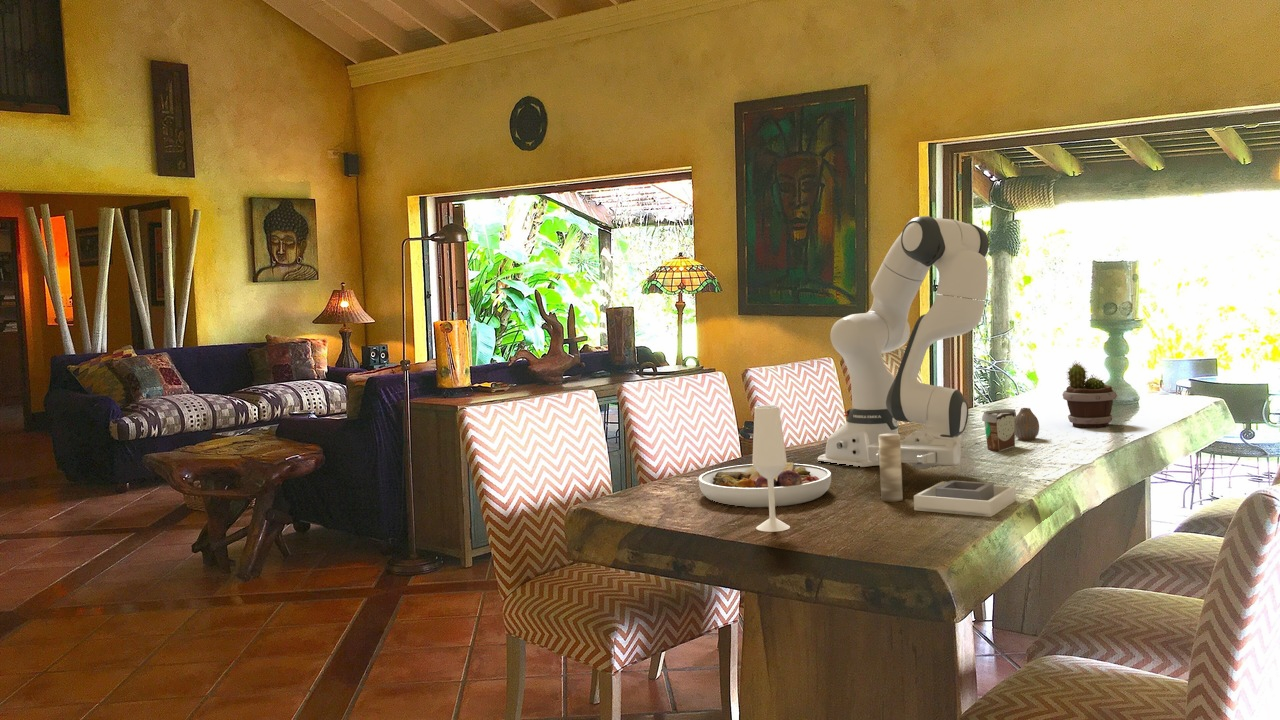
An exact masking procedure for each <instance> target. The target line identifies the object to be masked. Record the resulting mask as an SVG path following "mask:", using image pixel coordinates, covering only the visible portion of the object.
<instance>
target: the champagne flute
mask: <svg viewBox="0 0 1280 720" xmlns="http://www.w3.org/2000/svg"><path fill="white" fill-rule="evenodd" d="M753 413H754V414H753V415H754V416H753V417H754V418H753V439H752V463H751V464H753V466H754V468H755V469H756V470H757V471H758V472H759V473H760V474H761V475H762V476H763V477H765V478H766V479H768V498H769V507H768V511H769V512H768V514H769V517H768V518H767V519H766V520H765V521H763V522H762V523H760V524H759V525H758V526H756V527H755V529H756V530H758V531H760V532H771V533H772V532H773V533H774V532H783V531H786V530H789V529H791V526H790V525H788V524H787V523H785V522H783V521H782V520H780V519H778V518H777V517H776V507H775V499H774V480H773V479H774V478H776V477H777V476H778V475H779V474H780V473H781V472H782V471H783V469H784V468H785V466H786V464H787V462H788V461H787V453H786V447H785V446H786V445H785V441H784V440H785V439H784V431H783V426H782V420H781V412H780V407H779V405H776V404H775V405H772V404H771V405H758V406H754V412H753Z"/></svg>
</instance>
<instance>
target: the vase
mask: <svg viewBox="0 0 1280 720" xmlns="http://www.w3.org/2000/svg"><path fill="white" fill-rule="evenodd" d="M1039 433H1040V422H1039V420H1038V418H1037V416H1036V415H1035V414H1034V413H1033V411H1032V410H1031V408H1030V407H1022V408H1020V410H1019V412H1018V413H1017V414H1016V417H1015V438H1016V437H1017V439H1018V440H1020V441H1032V440H1035V439H1036V438H1037V437H1038V435H1039Z"/></svg>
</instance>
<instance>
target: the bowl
mask: <svg viewBox="0 0 1280 720" xmlns="http://www.w3.org/2000/svg"><path fill="white" fill-rule="evenodd" d="M773 480H774V499H775V508H776V507H777V506H778V507H786V506H794V505H800V504H803V503H804V504H805V503H808V502H811V501H814V500H816V499H818V498H820V497H822V496H823V495H824V494H825V493H826V492H827V491H828V490H829V488H830V486H831V483H832V472H831V471H830V470H829V469H827V468H824V467H821V466H817V465H812V464H804V463H803V464H800V463H794V462H793V461H792V462H788V461H787V464H786V466H785V468H784V469H783V471H782V472H781V473H780V474H779V475H778V476H777V477H776V478H774V479H773ZM698 486H699V488H700V489H699V490H700V491H701V493H702V495H703V496H705V497H706V498H707V499H708V500H710V501H712V500H713V501H712V502H714V501H715V502H714V503H716V502H719V503H724V504H730V505H735V506H734V507H737V506H745V507H744V508H769V498H768V479H766V478H765V477H763V476H762V475H761V474H760V473H759V472H758V471H757V470H756V469H755V468H754V466H753V463H750V464H740V465H732V466H726V467H721V468H716V469H712V470H708V471H706V472H705V473H704V472H703V473H702V474H700V475H699V476H698ZM719 503H718V504H719Z"/></svg>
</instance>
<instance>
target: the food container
mask: <svg viewBox="0 0 1280 720" xmlns="http://www.w3.org/2000/svg"><path fill="white" fill-rule="evenodd" d="M1016 416H1017V411H1016V408H1015V409H1013V408H1010V409H1005V408H1004V409H992V410H991V409H990V410H986V411H984V412H983V414H982V417H981V421H982V422H984V429H985V438H986V446H987V450H988V451H991V452H997V453H998V452H999V453H1000V452H1002V451H1006V450H1008V449H1011V448H1015V446H1016V435H1015V417H1016Z"/></svg>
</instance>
